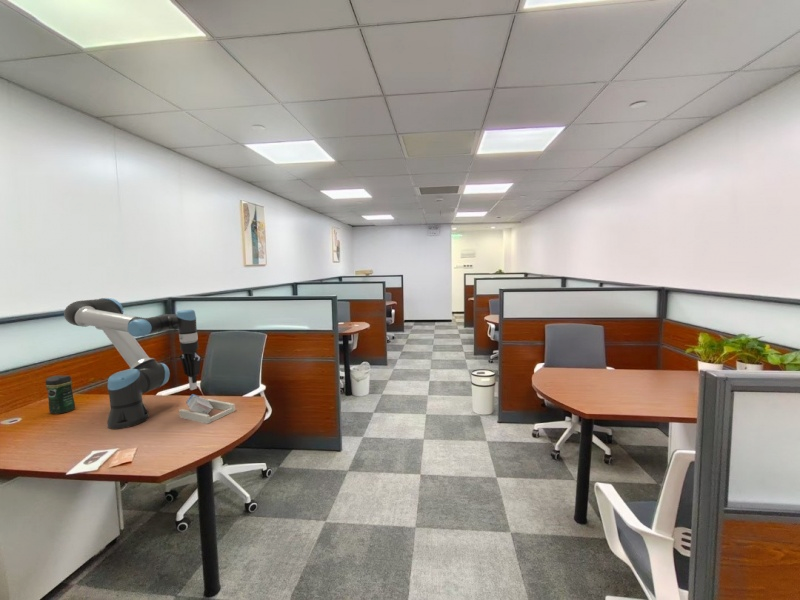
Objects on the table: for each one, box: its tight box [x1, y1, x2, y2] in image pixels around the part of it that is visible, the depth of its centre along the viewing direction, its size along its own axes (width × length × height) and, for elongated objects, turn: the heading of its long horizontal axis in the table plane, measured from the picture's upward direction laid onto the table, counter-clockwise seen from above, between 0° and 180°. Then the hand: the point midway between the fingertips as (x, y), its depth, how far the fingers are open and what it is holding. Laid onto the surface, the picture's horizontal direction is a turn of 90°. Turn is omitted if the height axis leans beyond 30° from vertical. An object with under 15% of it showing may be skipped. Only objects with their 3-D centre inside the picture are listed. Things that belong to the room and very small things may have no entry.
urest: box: [178, 398, 236, 425], centre depth 164 cm, size 19×15×4 cm
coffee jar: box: [45, 375, 76, 415], centre depth 173 cm, size 10×8×19 cm
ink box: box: [186, 393, 214, 415], centre depth 164 cm, size 8×5×15 cm
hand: (193, 388), depth 167 cm, fingers closed
